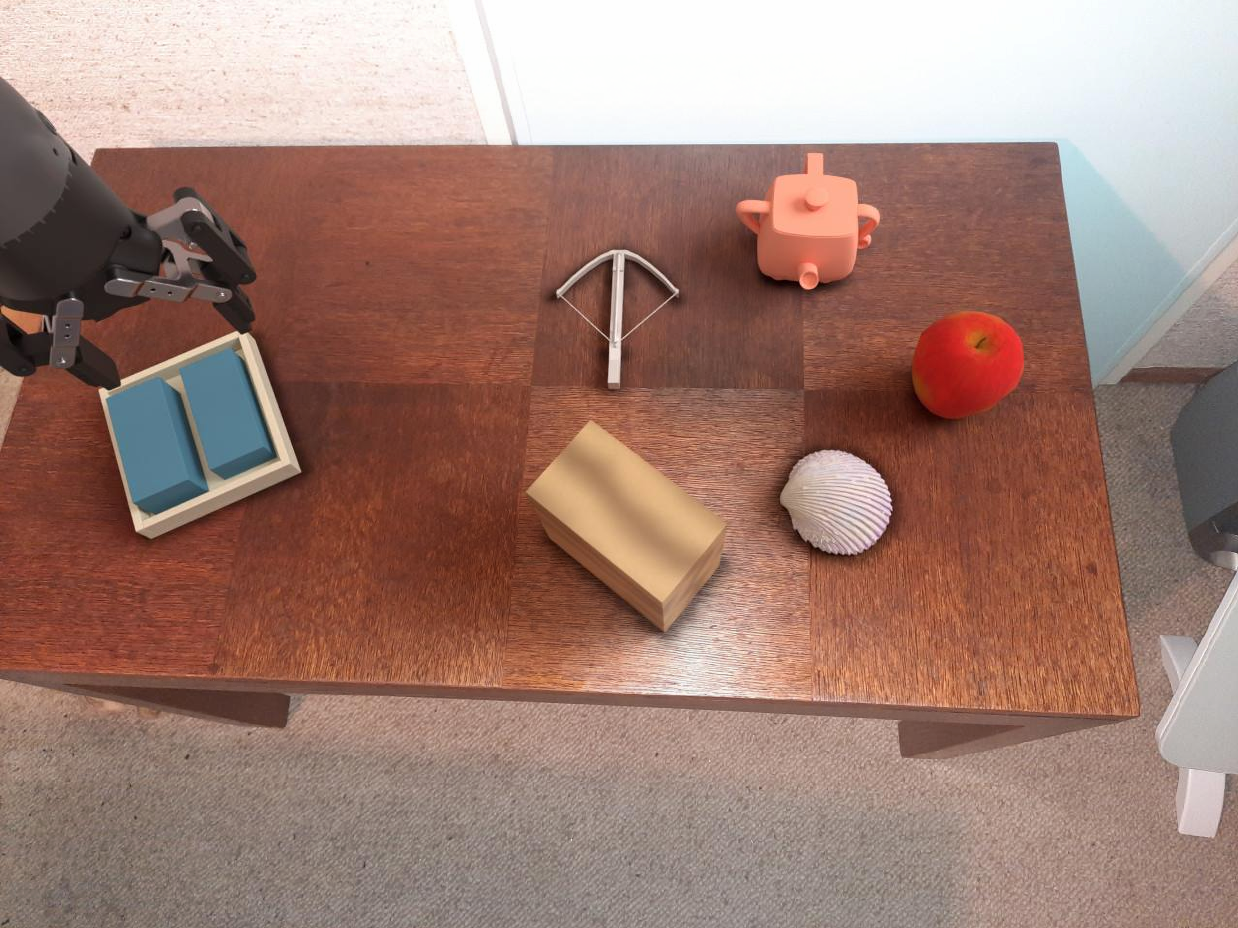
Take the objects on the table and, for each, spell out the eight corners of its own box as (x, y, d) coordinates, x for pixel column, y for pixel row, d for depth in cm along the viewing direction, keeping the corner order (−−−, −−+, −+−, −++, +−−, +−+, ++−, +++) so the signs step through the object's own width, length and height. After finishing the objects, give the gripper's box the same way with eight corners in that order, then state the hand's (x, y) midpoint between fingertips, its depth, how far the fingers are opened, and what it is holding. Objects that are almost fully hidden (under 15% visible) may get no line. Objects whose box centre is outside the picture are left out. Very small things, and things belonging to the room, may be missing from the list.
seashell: (774, 440, 79) (886, 430, 77) (780, 461, 84) (886, 452, 82) (779, 546, 76) (898, 539, 73) (786, 561, 81) (897, 556, 78)
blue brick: (225, 480, 84) (209, 470, 82) (194, 382, 88) (178, 369, 86) (277, 457, 85) (263, 446, 82) (244, 360, 89) (230, 347, 86)
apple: (1005, 374, 84) (1056, 311, 72) (976, 452, 81) (1024, 400, 70) (913, 339, 86) (949, 273, 74) (882, 415, 83) (914, 358, 72)
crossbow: (561, 259, 92) (559, 247, 90) (678, 258, 91) (679, 246, 90) (551, 389, 86) (548, 379, 84) (677, 389, 85) (677, 379, 83)
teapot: (798, 325, 87) (812, 273, 78) (725, 247, 91) (730, 188, 82) (884, 265, 89) (908, 207, 80) (809, 190, 92) (824, 127, 83)
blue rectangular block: (156, 515, 84) (132, 503, 80) (129, 414, 88) (105, 398, 84) (210, 492, 84) (188, 479, 80) (180, 392, 88) (158, 375, 84)
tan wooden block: (664, 633, 77) (662, 603, 64) (549, 538, 81) (524, 492, 68) (719, 565, 79) (727, 523, 66) (604, 476, 83) (590, 419, 70)
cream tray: (151, 539, 83) (135, 531, 81) (113, 400, 89) (97, 389, 87) (301, 472, 85) (290, 463, 82) (255, 339, 90) (243, 327, 88)
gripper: (-169, 307, 36) (82, 446, 51) (154, 177, 37) (305, 350, 53) (-187, 177, 39) (57, 347, 54) (116, 60, 40) (270, 258, 55)
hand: (179, 348), depth 53 cm, fingers open, 8 cm apart
